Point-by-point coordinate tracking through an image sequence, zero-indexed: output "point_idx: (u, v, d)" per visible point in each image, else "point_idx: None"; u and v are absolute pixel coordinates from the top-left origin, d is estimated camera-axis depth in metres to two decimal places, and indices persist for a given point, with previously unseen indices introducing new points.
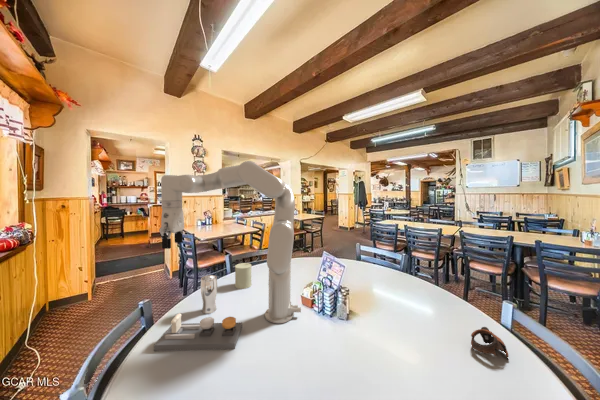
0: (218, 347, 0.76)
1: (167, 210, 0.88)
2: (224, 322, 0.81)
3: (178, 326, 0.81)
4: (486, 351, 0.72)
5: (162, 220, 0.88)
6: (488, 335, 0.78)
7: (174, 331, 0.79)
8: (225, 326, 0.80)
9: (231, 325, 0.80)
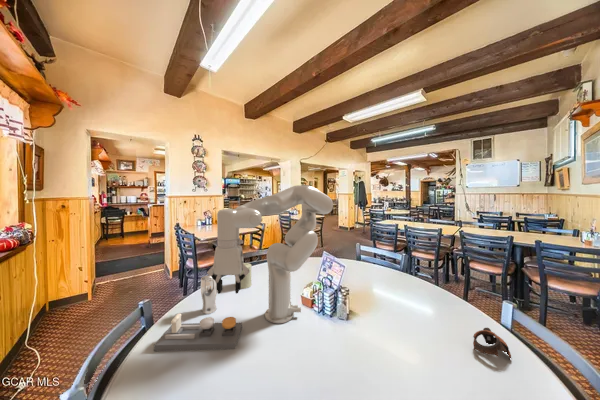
0: (218, 347, 0.76)
1: (241, 248, 0.81)
2: (224, 322, 0.81)
3: (178, 326, 0.81)
4: (489, 352, 0.72)
5: (241, 260, 0.80)
6: (490, 336, 0.78)
7: (174, 331, 0.79)
8: (225, 326, 0.80)
9: (231, 325, 0.80)
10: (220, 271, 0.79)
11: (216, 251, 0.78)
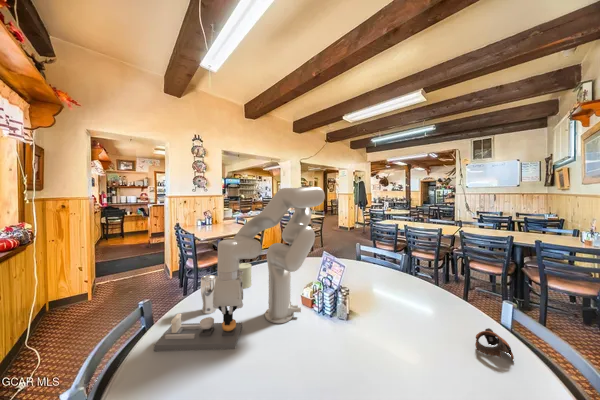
0: (218, 347, 0.76)
1: (241, 278, 0.82)
2: (224, 324, 0.81)
3: (178, 326, 0.81)
4: (491, 353, 0.71)
5: (240, 291, 0.80)
6: (492, 337, 0.77)
7: (174, 331, 0.79)
8: (225, 328, 0.80)
9: (231, 327, 0.80)
10: (220, 302, 0.79)
11: (216, 282, 0.79)
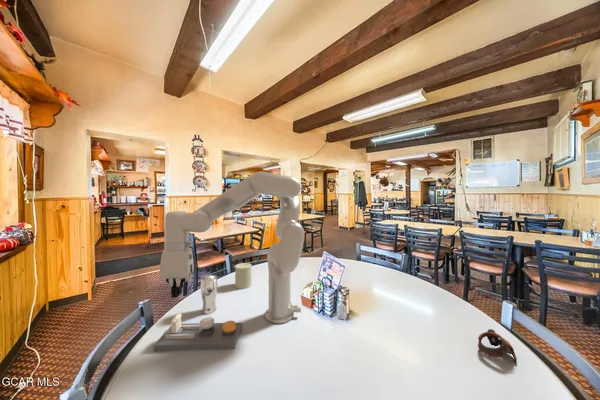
0: (218, 347, 0.76)
1: (190, 251, 0.80)
2: (224, 326, 0.81)
3: (178, 326, 0.81)
4: (494, 355, 0.71)
5: (188, 263, 0.79)
6: (495, 338, 0.77)
7: (174, 331, 0.79)
8: (225, 330, 0.80)
9: (231, 329, 0.80)
10: (166, 274, 0.78)
11: (163, 254, 0.77)
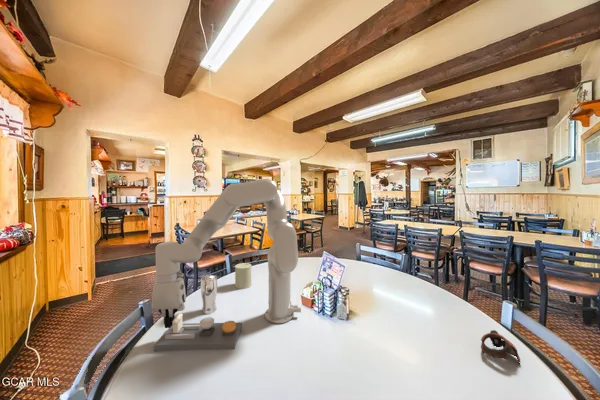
0: (218, 347, 0.76)
1: (181, 281, 0.81)
2: (224, 326, 0.81)
3: (179, 326, 0.81)
4: (498, 356, 0.70)
5: (180, 294, 0.79)
6: (498, 339, 0.76)
7: (175, 331, 0.79)
8: (225, 330, 0.80)
9: (231, 329, 0.80)
10: (159, 305, 0.78)
11: (154, 285, 0.78)
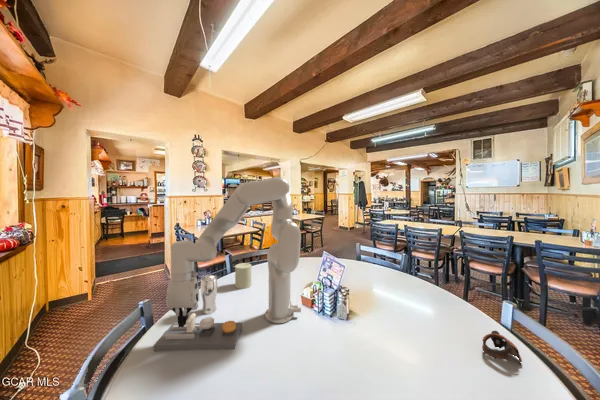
0: (218, 347, 0.76)
1: (195, 280, 0.81)
2: (224, 326, 0.81)
3: (193, 326, 0.81)
4: (500, 357, 0.70)
5: (194, 293, 0.79)
6: (499, 339, 0.76)
7: (189, 330, 0.80)
8: (225, 330, 0.80)
9: (231, 329, 0.80)
10: (173, 304, 0.78)
11: (169, 284, 0.78)
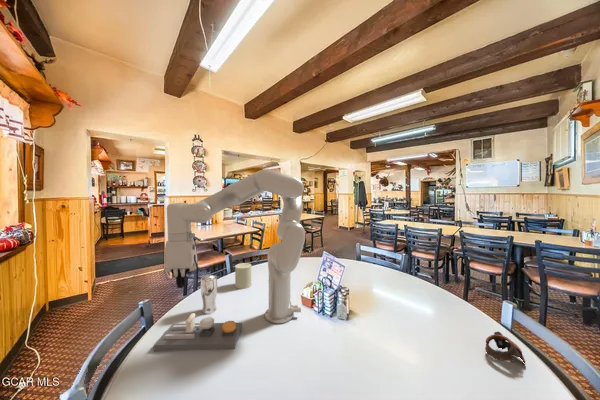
0: (218, 347, 0.76)
1: (193, 241, 0.81)
2: (224, 326, 0.81)
3: (192, 326, 0.81)
4: (503, 358, 0.69)
5: (192, 253, 0.80)
6: (502, 340, 0.75)
7: (188, 330, 0.80)
8: (225, 330, 0.80)
9: (231, 329, 0.80)
10: (171, 265, 0.79)
11: (166, 245, 0.78)
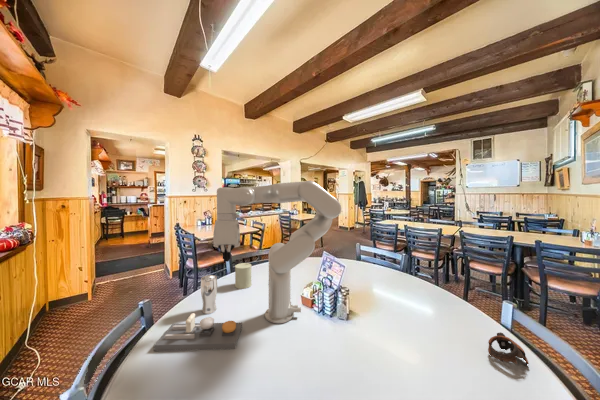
0: (218, 347, 0.76)
1: (237, 221, 0.93)
2: (224, 326, 0.81)
3: (192, 326, 0.81)
4: (507, 359, 0.69)
5: (237, 231, 0.91)
6: (505, 341, 0.75)
7: (188, 330, 0.80)
8: (225, 330, 0.80)
9: (231, 329, 0.80)
10: (219, 241, 0.90)
11: (216, 223, 0.90)
